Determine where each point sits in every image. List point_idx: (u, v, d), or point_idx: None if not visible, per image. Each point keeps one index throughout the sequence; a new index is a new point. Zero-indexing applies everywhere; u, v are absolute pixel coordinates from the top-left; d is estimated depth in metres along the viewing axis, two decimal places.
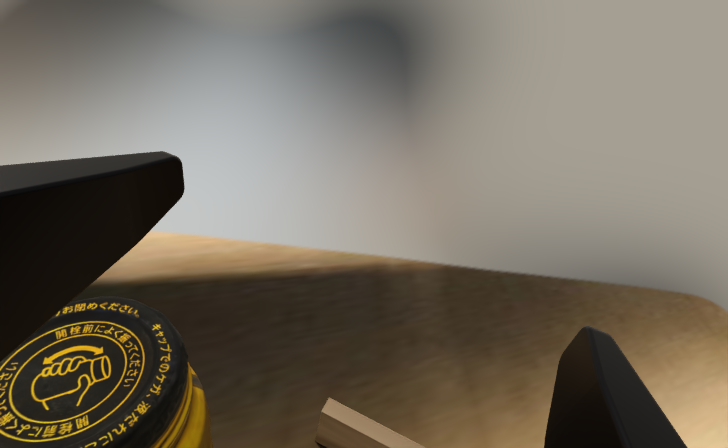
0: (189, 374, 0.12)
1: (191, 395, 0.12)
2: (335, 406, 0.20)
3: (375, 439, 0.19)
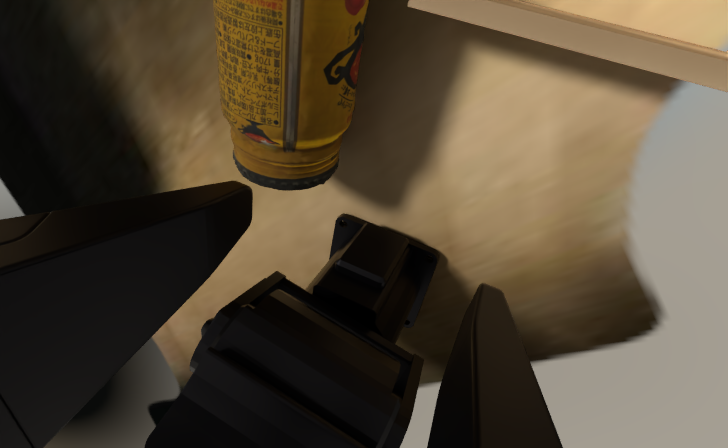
0: (299, 166, 0.18)
1: (312, 163, 0.19)
2: None
3: None
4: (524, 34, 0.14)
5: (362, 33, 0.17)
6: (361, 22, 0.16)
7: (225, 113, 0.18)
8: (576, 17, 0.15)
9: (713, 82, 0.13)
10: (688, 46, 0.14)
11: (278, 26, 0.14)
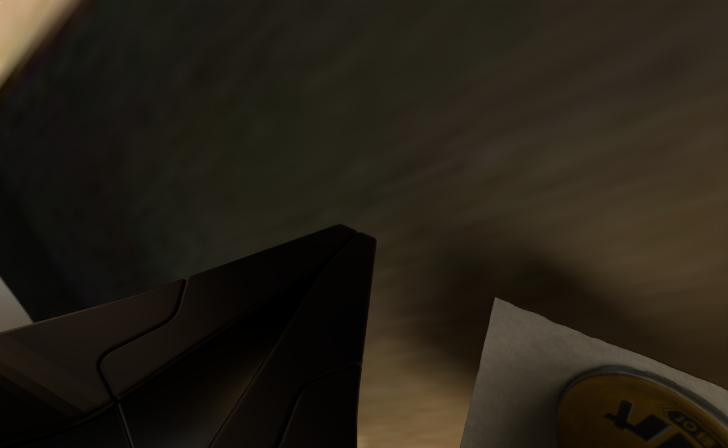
0: None
1: None
2: None
3: None
4: None
5: None
6: None
7: None
8: None
9: None
10: None
11: None
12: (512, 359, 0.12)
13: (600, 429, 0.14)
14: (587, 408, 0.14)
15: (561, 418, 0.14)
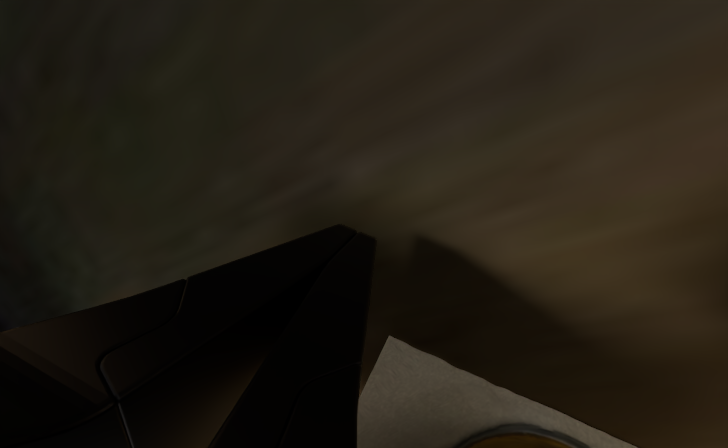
0: None
1: None
2: None
3: None
4: None
5: None
6: None
7: None
8: None
9: None
10: None
11: None
12: (390, 417, 0.10)
13: None
14: None
15: None
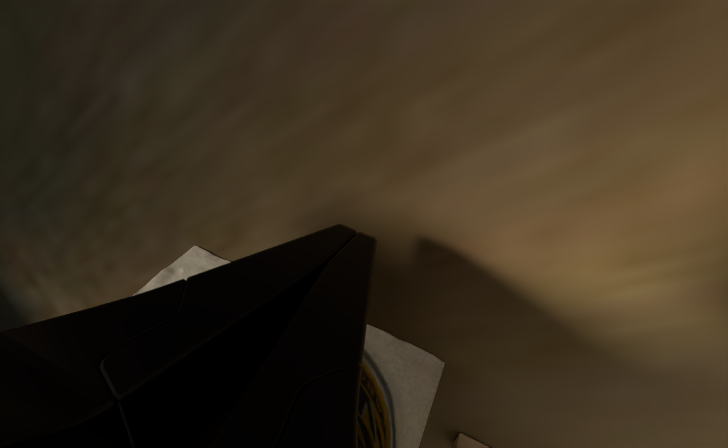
0: None
1: None
2: None
3: None
4: None
5: None
6: None
7: None
8: None
9: None
10: None
11: None
12: None
13: None
14: None
15: None
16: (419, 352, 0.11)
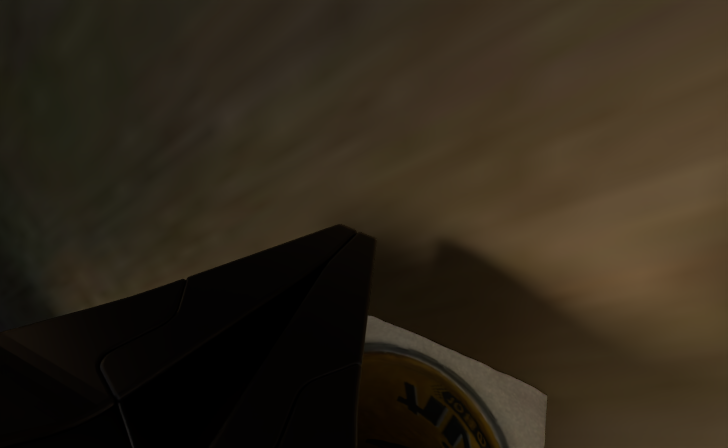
0: None
1: None
2: None
3: None
4: None
5: None
6: None
7: None
8: None
9: None
10: None
11: None
12: None
13: (400, 414, 0.14)
14: (380, 391, 0.13)
15: (359, 402, 0.14)
16: (520, 385, 0.11)
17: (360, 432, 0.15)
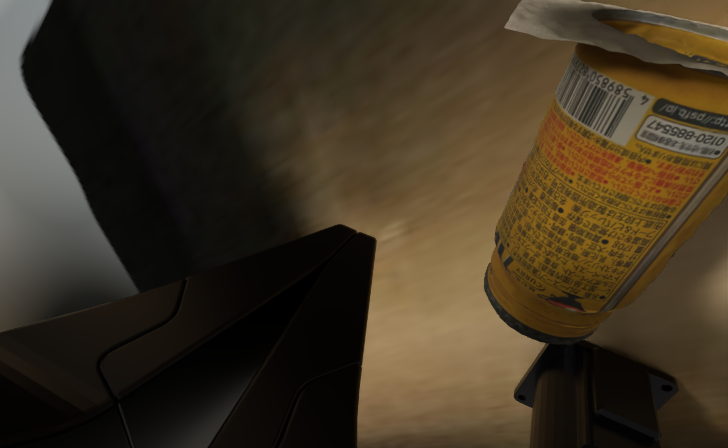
0: (591, 325, 0.17)
1: (603, 320, 0.17)
2: None
3: None
4: None
5: None
6: None
7: (522, 275, 0.16)
8: None
9: None
10: None
11: (664, 219, 0.12)
12: (551, 1, 0.14)
13: None
14: None
15: None
16: None
17: None
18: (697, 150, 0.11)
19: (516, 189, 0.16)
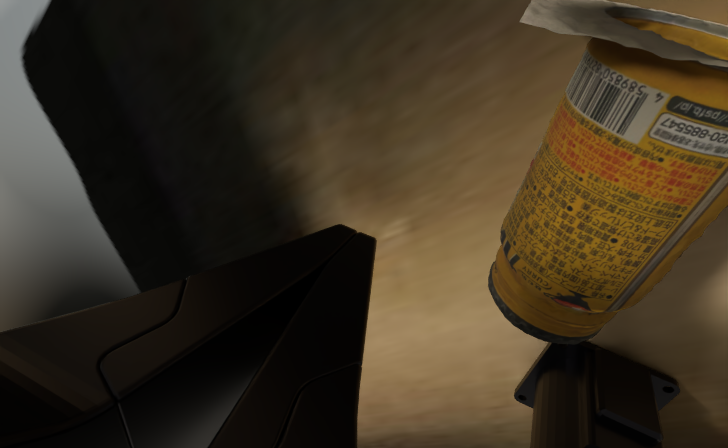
0: (596, 325, 0.16)
1: (609, 320, 0.17)
2: None
3: None
4: None
5: None
6: None
7: (528, 274, 0.16)
8: None
9: None
10: None
11: (674, 218, 0.12)
12: None
13: None
14: None
15: None
16: None
17: None
18: (710, 148, 0.11)
19: (524, 187, 0.16)
